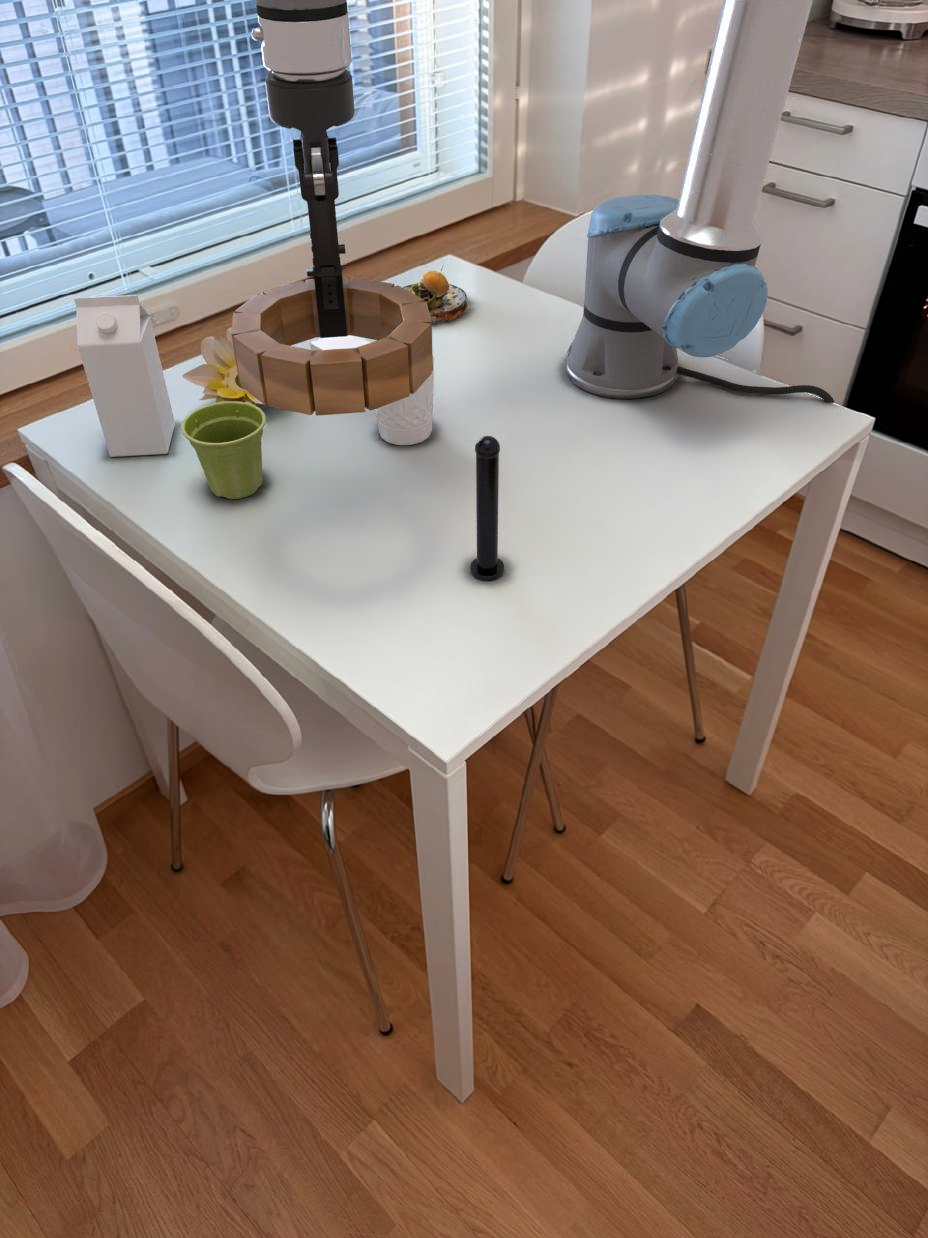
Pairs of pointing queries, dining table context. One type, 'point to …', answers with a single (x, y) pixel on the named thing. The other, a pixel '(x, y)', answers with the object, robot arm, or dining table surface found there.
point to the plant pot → (228, 446)
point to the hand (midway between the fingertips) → (333, 327)
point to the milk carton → (124, 374)
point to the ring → (336, 373)
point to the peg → (487, 510)
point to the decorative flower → (219, 372)
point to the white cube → (338, 343)
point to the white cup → (408, 416)
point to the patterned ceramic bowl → (440, 296)
